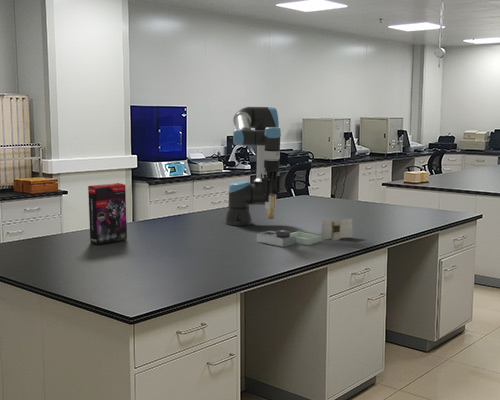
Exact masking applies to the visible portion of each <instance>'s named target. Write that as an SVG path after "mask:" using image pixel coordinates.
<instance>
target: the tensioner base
mask: <svg viewBox="0 0 500 400" xmlns="http://www.w3.org/2000/svg"><path fill="white" fill-rule="evenodd" d="M290 233H291V231H289V230H283V229H281V230H275V231H273V230H267V231H261V232H258V233H256V242H257V243H261V244H265V245H272V246H274V247H275V246H276V247H280V248H285V247H289V246H293V245H296V243H295V241H296V236H295V235H290Z"/></svg>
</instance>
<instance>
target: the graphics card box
mask: <svg viewBox="0 0 500 400" xmlns="http://www.w3.org/2000/svg"><path fill="white" fill-rule="evenodd" d="M87 191H88V194H87V195H88V215H89V240H90V242H89V243H90V244H93V245H96V246H97V245H98V246H99V245H100V246H101V245H104V244H105V245H106V244H109V243H115V242H120V241H121V242H122V241H126V240H128V231H127V230H128V226H127V223H128V222H127V195H126V184H124V183H121V182H120V183H119V182H117V183H107V184H104V183H103V184H95V185H93V184H92V185H88V186H87Z"/></svg>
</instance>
